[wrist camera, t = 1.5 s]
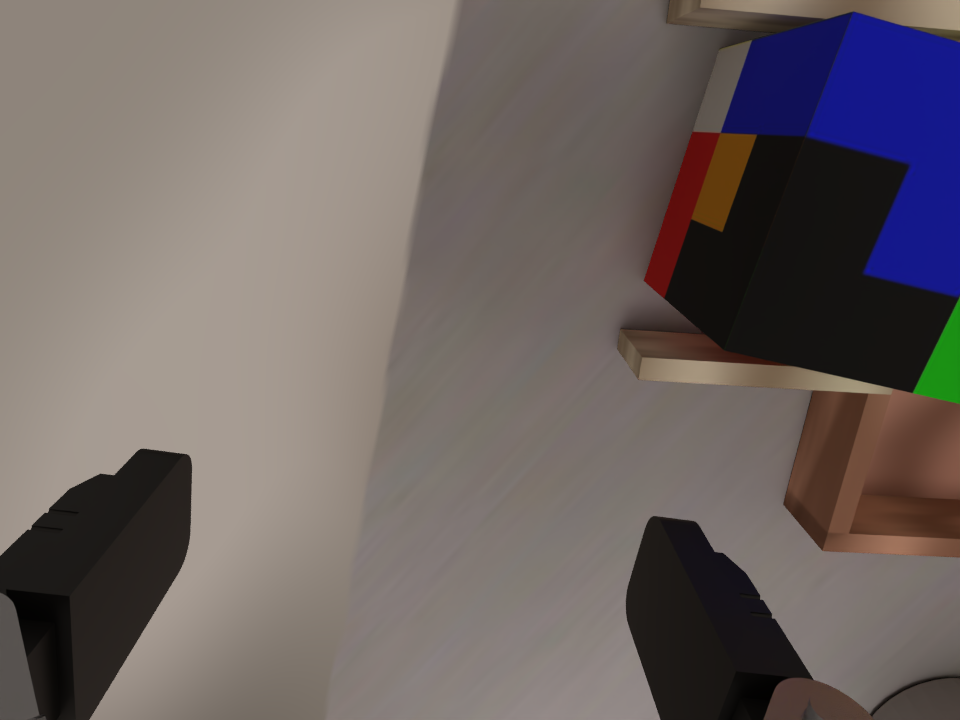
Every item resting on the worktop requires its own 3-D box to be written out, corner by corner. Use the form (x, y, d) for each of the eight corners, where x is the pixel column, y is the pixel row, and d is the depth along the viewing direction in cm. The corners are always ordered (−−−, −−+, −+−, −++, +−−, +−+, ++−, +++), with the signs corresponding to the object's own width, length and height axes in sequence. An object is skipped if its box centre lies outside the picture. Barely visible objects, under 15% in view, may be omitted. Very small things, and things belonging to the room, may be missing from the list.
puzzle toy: (718, 49, 27) (853, 11, 18) (936, 109, 28) (1171, 103, 19) (643, 280, 31) (723, 350, 21) (841, 326, 32) (1001, 413, 22)
